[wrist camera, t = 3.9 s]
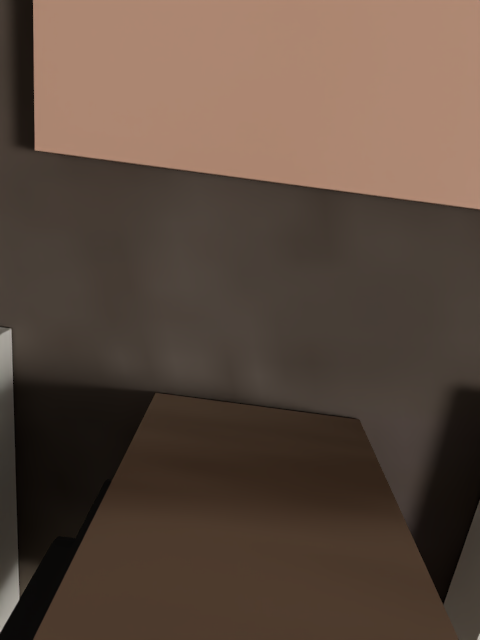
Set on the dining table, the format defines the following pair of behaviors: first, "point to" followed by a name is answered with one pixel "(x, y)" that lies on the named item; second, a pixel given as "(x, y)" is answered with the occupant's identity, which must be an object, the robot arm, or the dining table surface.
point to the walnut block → (246, 536)
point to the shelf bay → (3, 574)
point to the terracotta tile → (269, 91)
